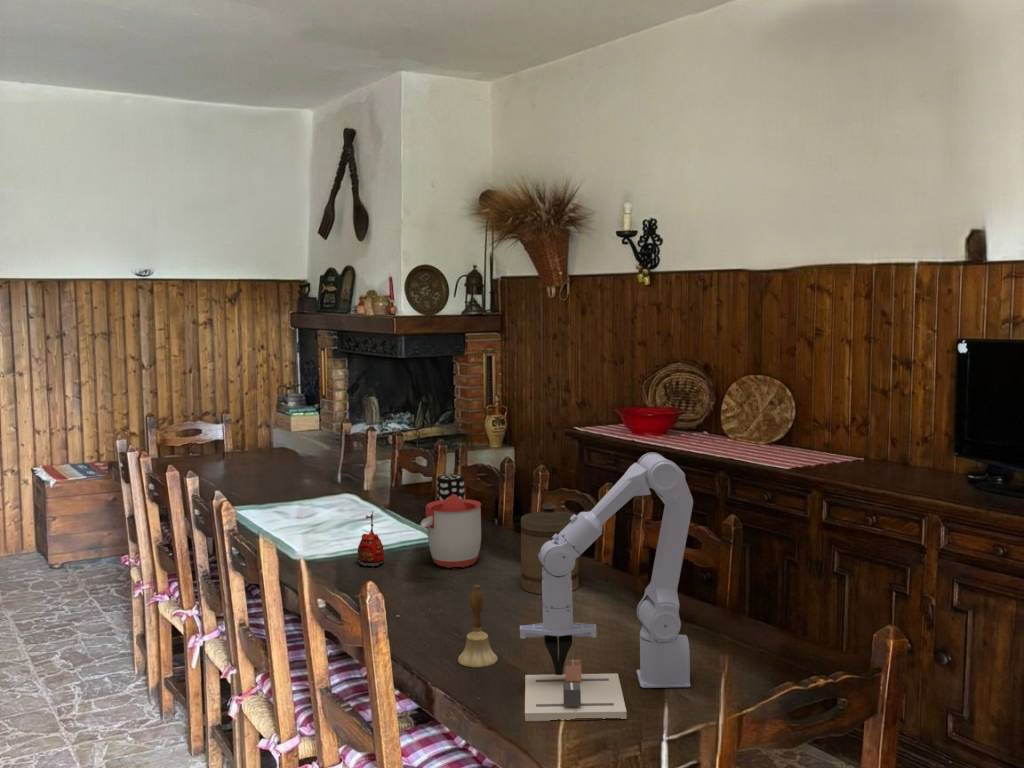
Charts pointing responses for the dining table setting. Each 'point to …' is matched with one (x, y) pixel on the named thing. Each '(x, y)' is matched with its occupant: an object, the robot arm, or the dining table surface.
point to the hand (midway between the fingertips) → (558, 673)
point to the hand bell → (477, 637)
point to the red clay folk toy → (370, 547)
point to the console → (596, 697)
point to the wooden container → (533, 537)
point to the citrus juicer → (453, 531)
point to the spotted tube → (450, 486)
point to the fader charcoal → (571, 694)
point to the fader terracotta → (573, 670)
